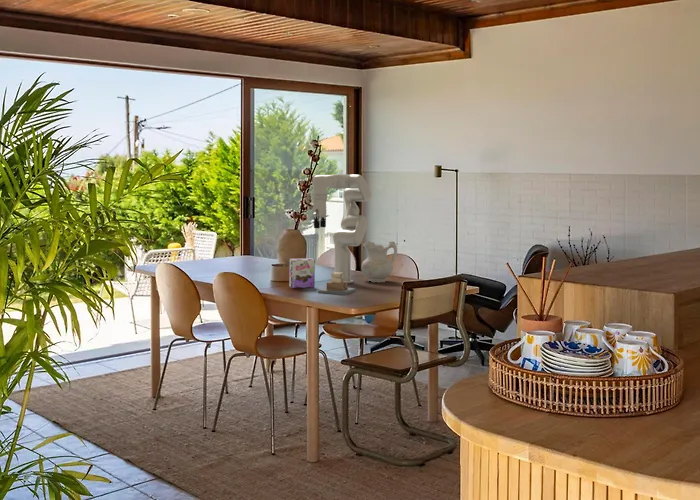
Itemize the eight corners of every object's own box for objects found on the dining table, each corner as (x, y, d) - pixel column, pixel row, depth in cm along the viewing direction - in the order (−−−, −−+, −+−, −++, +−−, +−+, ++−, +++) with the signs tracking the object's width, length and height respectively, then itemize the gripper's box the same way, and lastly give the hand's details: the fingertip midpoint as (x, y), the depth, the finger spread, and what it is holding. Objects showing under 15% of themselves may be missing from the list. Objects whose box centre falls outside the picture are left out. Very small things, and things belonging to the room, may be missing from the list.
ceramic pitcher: (397, 281, 518) (398, 241, 517) (396, 283, 498) (396, 241, 498) (362, 281, 520) (363, 240, 519) (360, 282, 500) (360, 240, 500)
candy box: (291, 288, 475) (291, 259, 474) (288, 287, 481) (289, 258, 479) (314, 287, 479) (315, 259, 477) (312, 286, 484) (312, 258, 483)
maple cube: (334, 281, 465) (334, 272, 465) (343, 281, 463) (343, 272, 463) (331, 282, 460) (331, 273, 460) (339, 282, 459) (339, 273, 458)
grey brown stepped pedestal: (328, 289, 472) (328, 279, 472) (355, 290, 467) (355, 281, 467) (318, 293, 457) (318, 283, 457) (346, 294, 452) (346, 284, 452)
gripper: (319, 196, 483) (319, 226, 485) (308, 197, 467) (308, 228, 468) (331, 197, 481) (331, 227, 482) (320, 197, 464) (320, 228, 466)
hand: (319, 227), depth 475 cm, fingers open, 9 cm apart
